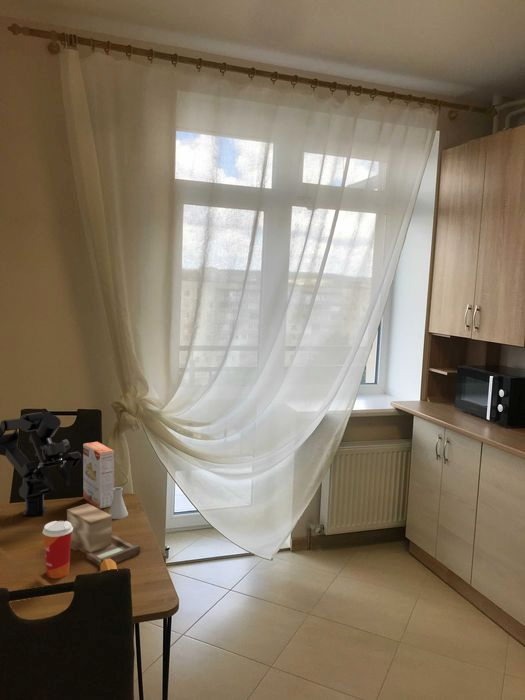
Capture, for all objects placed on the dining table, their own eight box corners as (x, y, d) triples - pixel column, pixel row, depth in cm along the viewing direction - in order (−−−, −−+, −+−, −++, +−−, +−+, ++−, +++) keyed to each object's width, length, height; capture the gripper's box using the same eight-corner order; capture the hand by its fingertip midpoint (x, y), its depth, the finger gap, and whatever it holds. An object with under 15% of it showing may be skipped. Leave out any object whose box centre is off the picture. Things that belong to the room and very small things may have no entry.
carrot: (102, 574, 153) (96, 561, 152) (117, 565, 155) (111, 553, 153) (116, 620, 136) (109, 606, 134) (133, 610, 137) (126, 596, 136)
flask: (122, 522, 185) (122, 493, 184) (102, 520, 186) (102, 491, 185) (132, 514, 192) (132, 486, 191) (112, 512, 193) (112, 484, 192)
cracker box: (82, 499, 204) (82, 443, 202) (97, 495, 208) (98, 440, 206) (98, 511, 193) (98, 452, 191) (114, 507, 197) (115, 449, 195)
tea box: (66, 538, 170) (66, 509, 169) (87, 531, 176) (87, 503, 175) (90, 552, 162) (90, 522, 161) (111, 544, 167) (112, 515, 166)
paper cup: (47, 568, 153) (47, 519, 152) (76, 568, 154) (76, 519, 153) (38, 583, 146) (38, 531, 144) (68, 583, 146) (68, 531, 145)
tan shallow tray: (38, 545, 166) (38, 536, 166) (103, 523, 183) (103, 515, 183) (86, 577, 150) (86, 566, 149) (153, 550, 166) (153, 540, 166)
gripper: (24, 437, 172) (42, 481, 166) (79, 427, 186) (97, 467, 180) (12, 456, 178) (29, 499, 172) (66, 445, 192) (83, 484, 186)
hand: (61, 487), depth 178 cm, fingers open, 5 cm apart
